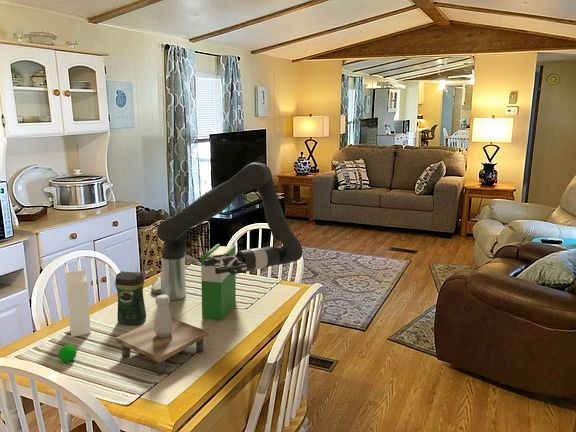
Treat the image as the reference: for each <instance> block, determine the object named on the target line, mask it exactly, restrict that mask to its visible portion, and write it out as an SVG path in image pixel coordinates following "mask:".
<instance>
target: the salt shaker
mask: <svg viewBox="0 0 576 432" xmlns="http://www.w3.org/2000/svg"><path fill="white" fill-rule="evenodd" d="M170 302H171V300H170V298H169V296H168V295H161V294H158V295H157V296H156V297H155V304H156V305H157V307H156V313H155V319H154V320H155V325H154V331H155V333H156V334H157V335H158V337H161V338H165V337H169V336H170V334H171V332H172V330H173V324H172V319H171V318H172V315H171V311H170V308H169V304H170Z"/></svg>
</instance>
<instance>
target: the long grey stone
mask: <svg viewBox="0 0 576 432" xmlns="http://www.w3.org/2000/svg"><path fill="white" fill-rule="evenodd" d="M150 290H151V292H152V294H154V295H157V294H158V295H161V274H159V275H158V276H156V277H155V279H154V281H153V282H152V284H151V288H150Z"/></svg>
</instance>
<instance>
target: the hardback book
mask: <svg viewBox="0 0 576 432" xmlns="http://www.w3.org/2000/svg"><path fill="white" fill-rule="evenodd" d="M221 254H229V256H235V255H236V254H237V251H236V244H233V245H232V246H224V245H223V246H222V245H221V244H220V243H217V244H215V245H214V246H213V247H212V248H210V249H209V250H208V251H207V252H205V253H204V254H203V255H202V256H201V257H200V260H201V261H200V263H201V264H200V265H201V266H200V268H201V269H200V270H201V272H200V274H201V279H200V280H201V319H202V320H206V321H207V320H208V321H215V322H223V320H224V318H225V317H226V316H227V315H228V313H229V311H231V309H232V308H233V306H234V305H235V304H236V302H237V301H236V296H237V295H236V293H237V289H236V284H237V283H236V281H237V280H236V275H237V274H234V275H231V273H221V274H216V273H215V268H216V267H221V266H220V265H212V266H206V267H205V266H204V260H207V259H213V256H214V255H221ZM219 263H220V262H219ZM223 264H224V262H223ZM235 271H236V270H235ZM235 271H234V272H235Z"/></svg>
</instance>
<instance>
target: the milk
mask: <svg viewBox="0 0 576 432" xmlns="http://www.w3.org/2000/svg"><path fill="white" fill-rule="evenodd" d="M87 280H88V279H87V275H86V270H85V269H81V270H76V271H75V270H74V271H67V272H65V285H66V297H67V308H68V309H67V311H68V318H69V320H68V321H69V330H70V331H69V332H70V334H71V338H74V337H78V336H79V337H80V336H83V335H90V334H91V333H92V332H91V320H90V306H89V305H90V304H89V294H88V293H89V291H88V281H87Z"/></svg>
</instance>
